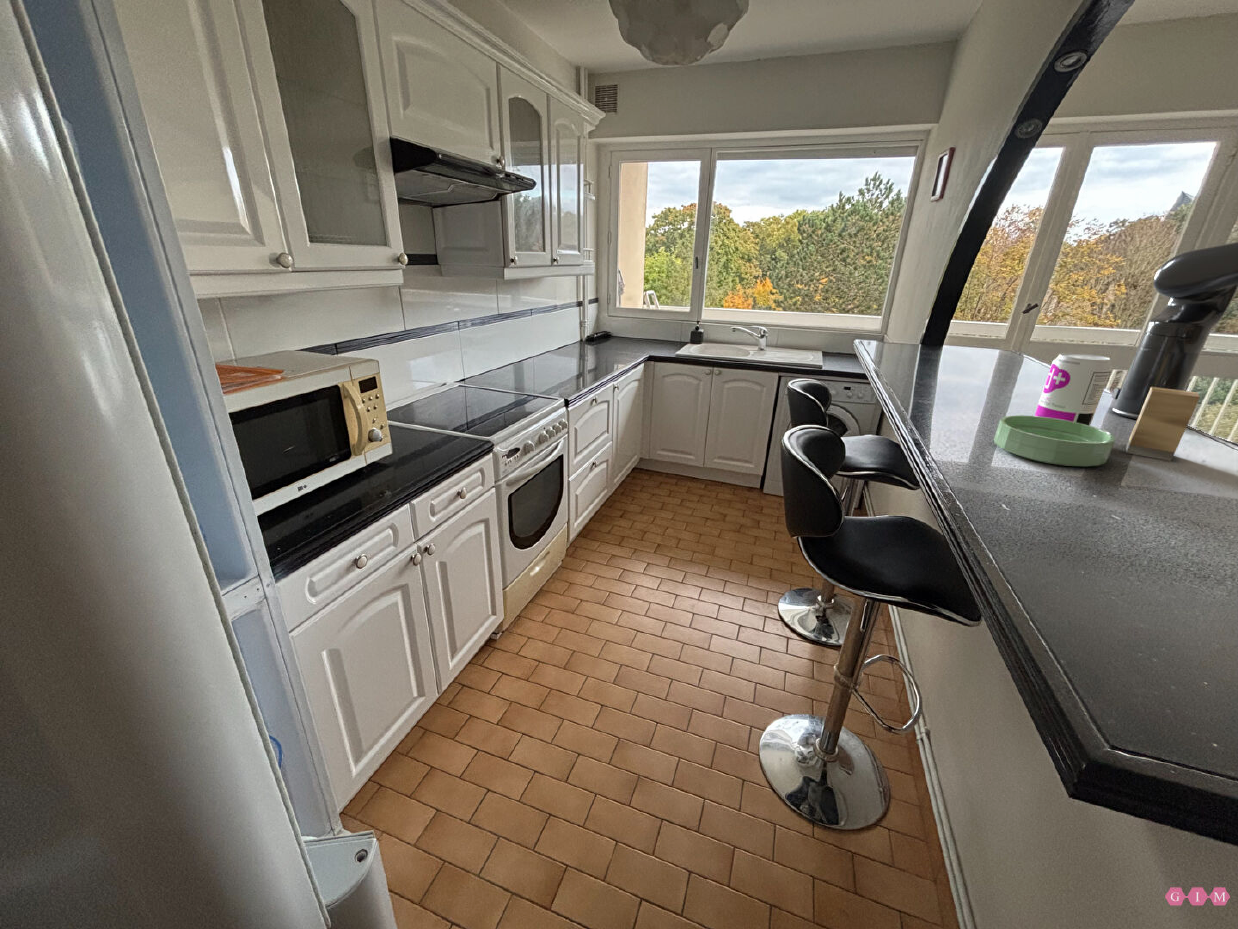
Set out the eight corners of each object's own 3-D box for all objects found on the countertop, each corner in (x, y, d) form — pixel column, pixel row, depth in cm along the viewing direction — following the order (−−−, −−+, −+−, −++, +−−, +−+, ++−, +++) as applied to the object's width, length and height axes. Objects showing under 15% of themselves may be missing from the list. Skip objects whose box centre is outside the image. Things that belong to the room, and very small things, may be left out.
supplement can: (1040, 439, 94) (1068, 358, 88) (1022, 426, 101) (1047, 351, 96) (1093, 444, 92) (1125, 361, 86) (1070, 431, 99) (1098, 354, 94)
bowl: (986, 433, 97) (993, 411, 95) (1086, 446, 91) (1095, 422, 89) (1002, 459, 84) (1010, 434, 83) (1120, 476, 78) (1131, 449, 77)
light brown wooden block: (1126, 446, 91) (1151, 386, 87) (1169, 454, 88) (1197, 392, 84) (1126, 452, 88) (1152, 391, 84) (1171, 461, 85) (1200, 397, 81)
